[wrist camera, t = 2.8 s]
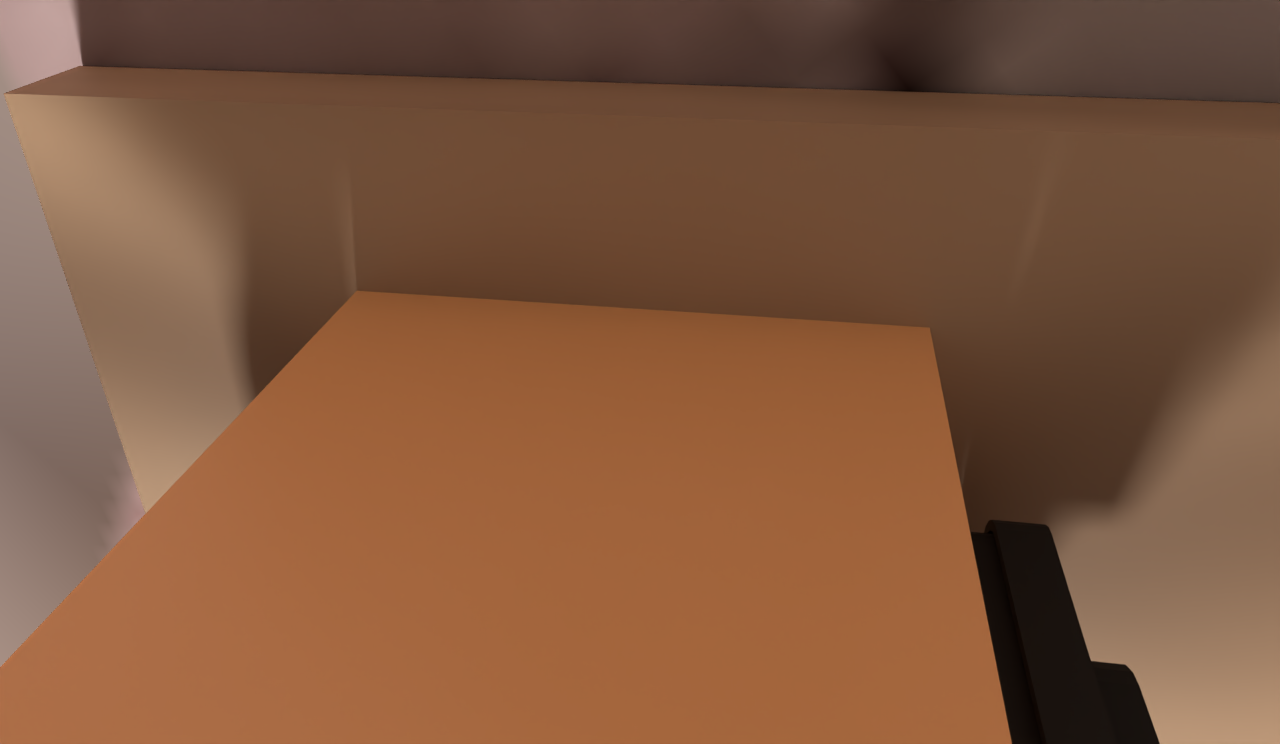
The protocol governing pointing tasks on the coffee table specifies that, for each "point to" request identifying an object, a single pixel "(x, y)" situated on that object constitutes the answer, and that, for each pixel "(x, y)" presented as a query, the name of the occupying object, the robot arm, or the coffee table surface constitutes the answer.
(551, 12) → the coffee table surface
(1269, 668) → the tan wooden board
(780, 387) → the orange wooden cube
